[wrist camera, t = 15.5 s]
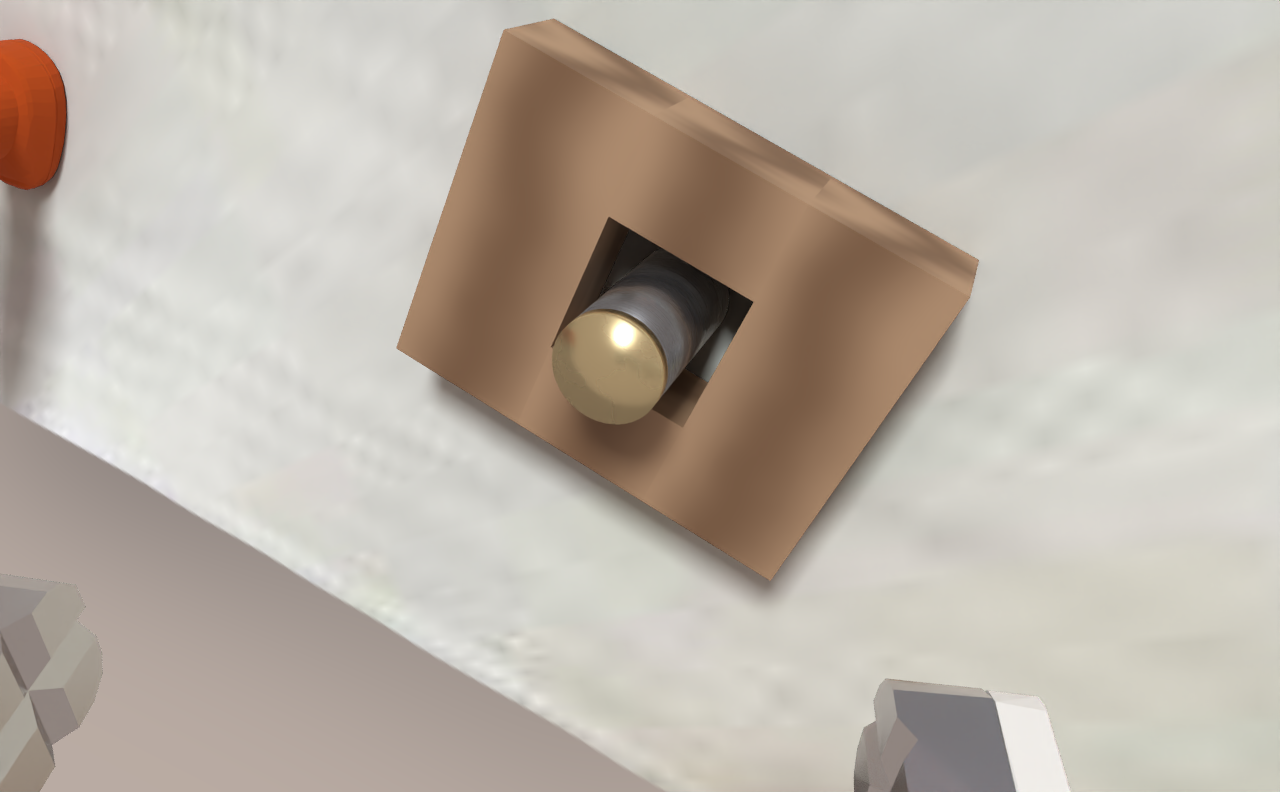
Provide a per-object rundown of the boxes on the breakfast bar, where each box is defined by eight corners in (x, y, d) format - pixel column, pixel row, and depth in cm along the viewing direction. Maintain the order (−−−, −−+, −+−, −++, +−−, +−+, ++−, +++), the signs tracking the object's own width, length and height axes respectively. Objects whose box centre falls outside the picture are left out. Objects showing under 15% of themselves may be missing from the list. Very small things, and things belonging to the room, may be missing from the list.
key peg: (746, 277, 39) (681, 355, 33) (702, 357, 41) (633, 445, 35) (659, 226, 40) (577, 293, 33) (620, 307, 42) (535, 385, 35)
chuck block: (979, 260, 36) (970, 297, 32) (793, 528, 43) (770, 580, 40) (553, 18, 38) (504, 29, 34) (445, 315, 45) (396, 348, 42)
